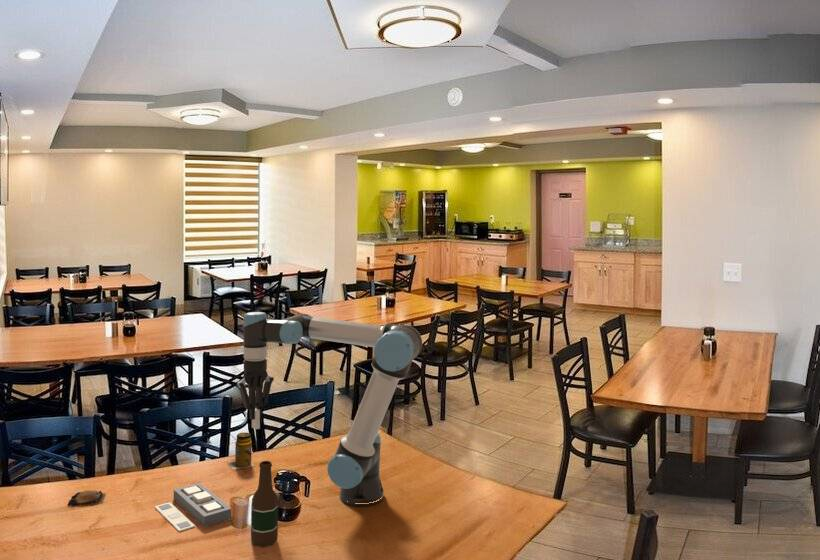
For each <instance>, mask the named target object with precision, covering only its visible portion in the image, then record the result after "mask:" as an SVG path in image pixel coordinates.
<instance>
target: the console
mask: <svg viewBox="0 0 820 560" xmlns="http://www.w3.org/2000/svg"><path fill="white" fill-rule="evenodd" d="M193 486H197V487H198V488H199V489H201V490H202V492H204V491H206V492H207V493H209V494H210V495H211V501H208V502H204V503H201V504H196V503H194V502H193V501H192V499H193V495H190V496H186V495H185V494H184V493H183V489H185V488H189V487H193ZM173 501H175V503H177V505H179V506H180V508H182V509H183V510H184V511H185V512H187V514H189V516H191V517H192V518H193V519H194V520H195V521H196V522H197V523H199V524H200V525H201V526H202V527H203V528H207V527H210V526H215V525H216V524H217V525H218V524H220V523H221V524H222V523H224V522H226V521H230V520H232V516H233V515H232V516H231V508H232V507H231V506H230V505H228V504H227V503H226V502H225V501H223V500H222V499H221V498H219V496H217V495H216V494H215V493H214V492H212V491H211V490H210V489H209V488H207V487H206V486H204V485H203V484H202V483H201V482H198V483H193V484H189V485H186V486H182V487H179V488H175V489H173ZM213 502H216V503H218V504H219V505H220V506H221V507H222V509H220V510H217V511H213V512H210V513H206V512H205V511H204V510H202V505H206V504H209V503H213Z"/></svg>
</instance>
